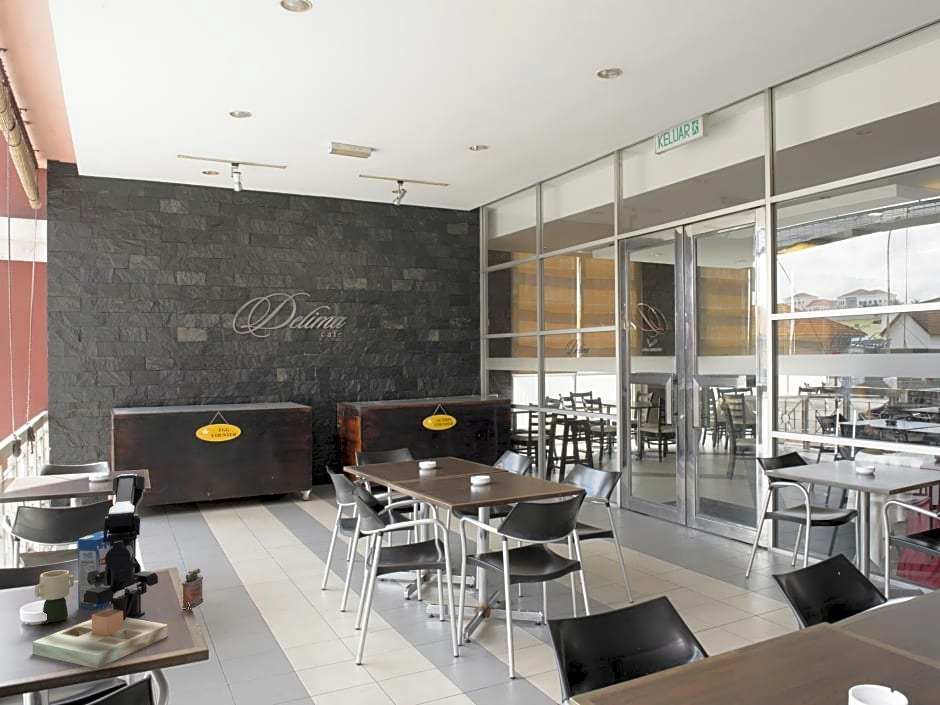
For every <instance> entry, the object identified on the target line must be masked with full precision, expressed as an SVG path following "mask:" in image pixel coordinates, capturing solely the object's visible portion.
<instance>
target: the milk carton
mask: <svg viewBox="0 0 940 705" xmlns="http://www.w3.org/2000/svg"><path fill="white" fill-rule="evenodd" d="M108 535H109V534H108V533H107V537H108ZM111 535H114V534H111ZM103 538H104V530H100V531H98V532H97V531H96V532H94V533H92V534H89V535H86V536H83V537H80V538H78V539H77V554H78V555H77V569H78V570H77V571H78V572H77V577H78V578H77V579H78V580H77V583H78V585H77V586H78V588H77V590H78V594H77V595H78V599H77V600H78V601H77V602H78V606H77V607H78V608H77V609H79V610H80V609H81V610H95V611H96V610H97V611H98V610H101V609H102V608H103V606H104V607H106V606H108V605H110V604H111V603H110V602H111V601H109V602H106V603H103V604H93V603H87V602H84V593H85V592H86V590H89V589H92V588H95V585H94V584H92V585H89V584H88V580H87V577H88V573H89V572H92V571H95V570H98V572H99V573H100V572H103V571H105V567H106V563H105V556H106V554H107V552H108V550H109V547H110V542H103ZM98 587H104V588H109V587H110V586H109V585H108V586H104V584H101V585H99V586H98ZM109 603H110V604H109ZM107 604H108V605H107ZM105 605H106V606H105Z"/></svg>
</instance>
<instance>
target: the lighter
mask: <svg viewBox="0 0 940 705" xmlns="http://www.w3.org/2000/svg"><path fill="white" fill-rule="evenodd" d="M200 573H201V568H195V569H192V570H188V573H186V574H185V580H184V581H182V583H181V586H182V601H183V602H182V608H186V609H188V607H189V609H190V608H191V609H190V610H192V609H194V608H196V607H198V606H200V605H202V603H203V602H204V598H203V579H204V575H199V574H200ZM188 602H189V604H190V606H189V604H188Z"/></svg>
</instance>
